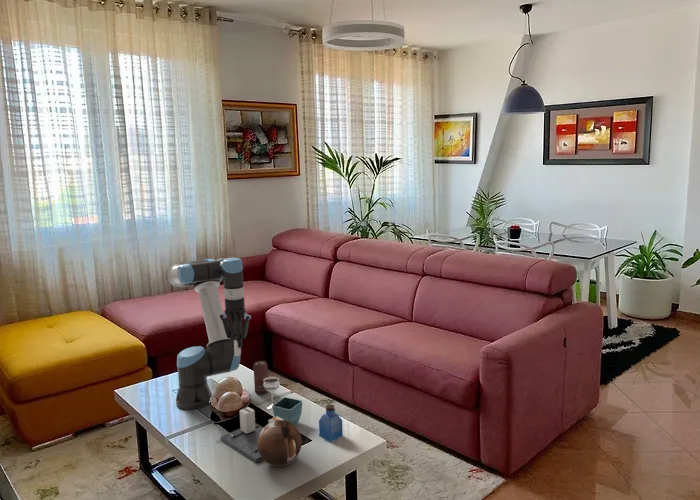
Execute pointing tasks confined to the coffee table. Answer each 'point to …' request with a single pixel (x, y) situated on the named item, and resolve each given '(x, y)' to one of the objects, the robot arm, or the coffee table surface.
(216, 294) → the robot arm
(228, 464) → the coffee table surface
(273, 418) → the front fader
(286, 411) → the flower pot
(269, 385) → the wineglass
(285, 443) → the wooden sphere
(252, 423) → the block
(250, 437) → the plate
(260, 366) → the can
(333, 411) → the perfume bottle
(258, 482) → the coffee table surface
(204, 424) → the coffee table surface
